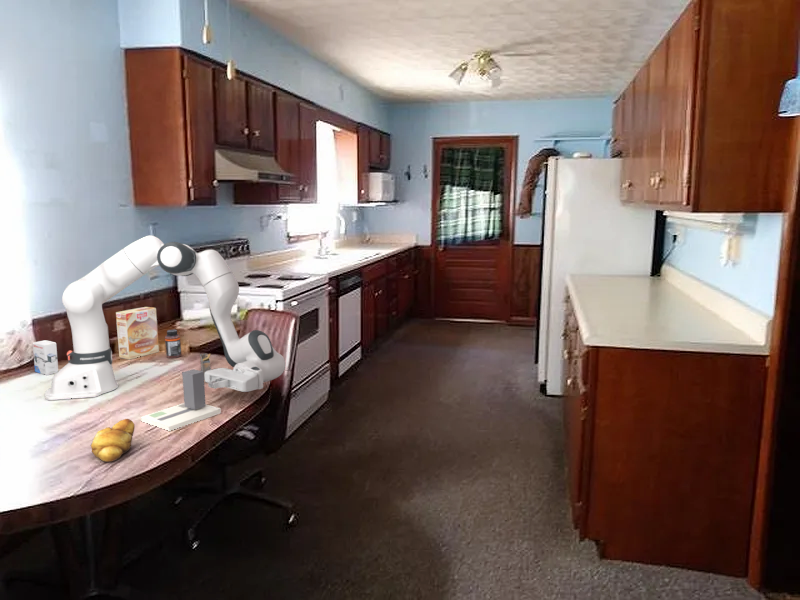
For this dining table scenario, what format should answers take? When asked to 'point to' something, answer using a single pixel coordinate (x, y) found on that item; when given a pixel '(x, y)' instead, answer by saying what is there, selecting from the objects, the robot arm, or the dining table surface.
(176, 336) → the supplement bottle
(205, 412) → the switch panel
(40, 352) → the ink box
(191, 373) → the switch tab
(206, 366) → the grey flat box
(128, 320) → the coffeecake box
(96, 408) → the dining table surface
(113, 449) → the bread roll
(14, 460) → the dining table surface
